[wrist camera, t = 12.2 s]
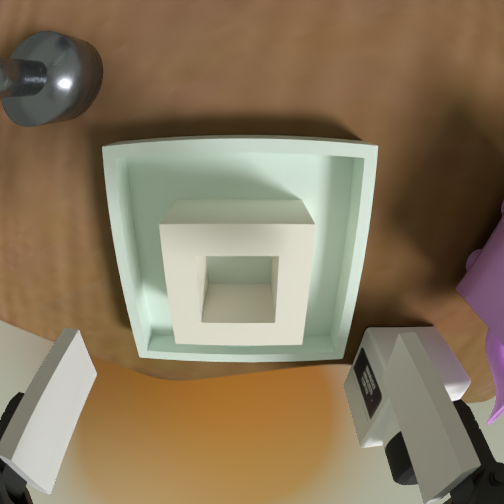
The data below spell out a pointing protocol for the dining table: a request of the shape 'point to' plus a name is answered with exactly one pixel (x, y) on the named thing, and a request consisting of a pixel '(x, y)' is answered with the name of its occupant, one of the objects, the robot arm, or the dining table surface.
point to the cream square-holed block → (237, 295)
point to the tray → (241, 267)
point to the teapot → (489, 303)
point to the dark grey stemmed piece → (49, 79)
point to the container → (376, 397)
